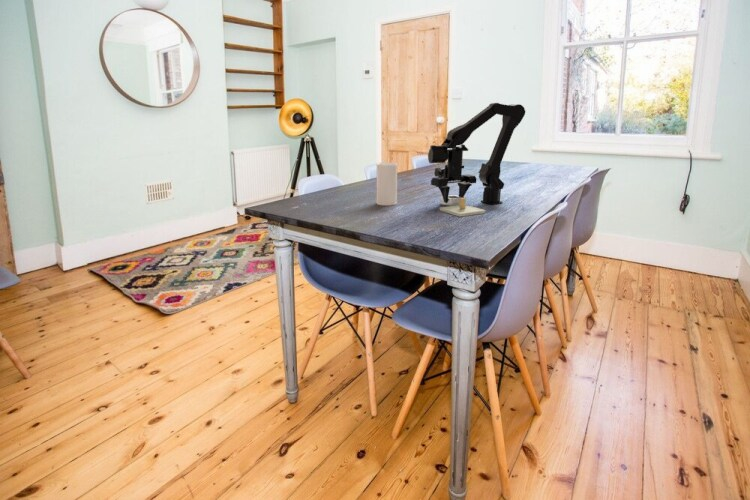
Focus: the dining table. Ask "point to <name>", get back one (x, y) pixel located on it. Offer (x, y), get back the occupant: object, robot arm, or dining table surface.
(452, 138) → the robot arm
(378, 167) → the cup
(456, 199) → the link
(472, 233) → the dining table surface
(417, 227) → the dining table surface
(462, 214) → the keeper
